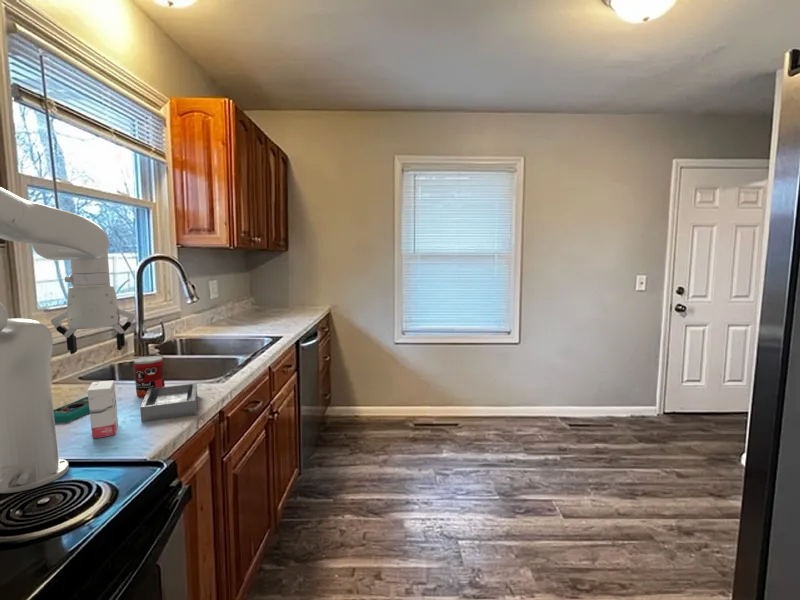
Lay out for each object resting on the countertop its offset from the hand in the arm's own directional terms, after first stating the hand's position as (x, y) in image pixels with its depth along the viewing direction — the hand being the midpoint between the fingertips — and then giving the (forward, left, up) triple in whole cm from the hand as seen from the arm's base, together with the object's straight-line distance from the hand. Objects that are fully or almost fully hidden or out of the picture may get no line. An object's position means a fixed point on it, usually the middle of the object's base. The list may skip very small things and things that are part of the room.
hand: (97, 351), depth 115 cm
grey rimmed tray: (+12, -14, -20) cm, 27 cm away
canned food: (+30, -7, -20) cm, 37 cm away
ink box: (0, 0, -20) cm, 20 cm away
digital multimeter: (+19, +10, -21) cm, 30 cm away
